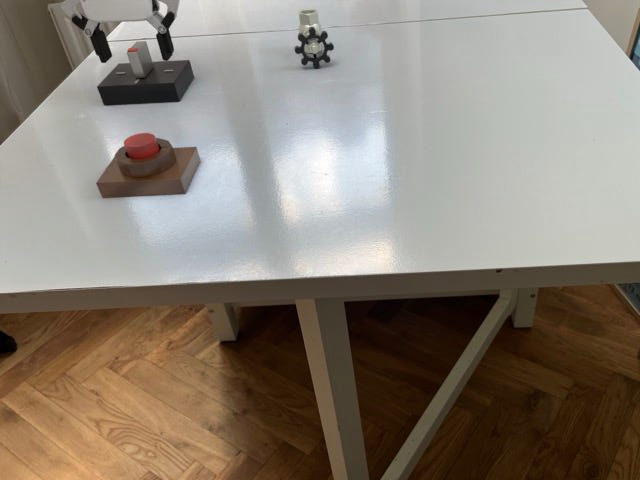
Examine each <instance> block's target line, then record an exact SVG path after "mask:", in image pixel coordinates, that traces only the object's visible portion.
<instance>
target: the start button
mask: <svg viewBox="0 0 640 480" xmlns="http://www.w3.org/2000/svg"><path fill="white" fill-rule="evenodd" d="M156 138H157V137H156V136H155V134H153V133H150V132H141V133H135V134H133V135H130V136H128V137H127V138H126V139H124V141H123V146H125V148H126V151H127V153H128V156H129V158H130V159H144V158H148V157H151V156H153V155H155V154H157V153H158V152H159V146H158V143H157V141H156Z"/></svg>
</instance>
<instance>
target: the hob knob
mask: <svg viewBox="0 0 640 480" xmlns="http://www.w3.org/2000/svg"><path fill="white" fill-rule="evenodd" d="M126 56H127V58H128V62H129V63H130V64H131V67H132V70H133V73H134V76H135V78H145V77H146V76H147V75H148V74H149V72H150V71H151V70H152V68H153V67H154V65H153V62H152V61H153V58H152V55H151V52H150V49H149V46H148V42H147V41H146V40H142V41H135V43H134V44H132V46H131V47H129V48H128V49H127V50H126Z"/></svg>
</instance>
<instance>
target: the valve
mask: <svg viewBox="0 0 640 480" xmlns="http://www.w3.org/2000/svg"><path fill="white" fill-rule="evenodd" d="M298 17H299V25H298V34H297V41H299V42H300V46H299V45H295V46H294V52H295V54H296V55H300V54H302V57H301V58H300V63H301V65H302V66H307V65H308V63H309V62H310V63H312V66H313V68H314V69H315V70H318V69H319V68H320V67H321V65H320V62H321V61H323V62H324V63H326V64H329V63H330V62H331V56H330V55H328V52H329V51H330V52H332V51H334V49H335V46H334V45H335V44H334V43H333V42H331V41H330V42H329V43H327V41H326V39H328V37H329V33H328V31H326V30H323V29H322V25H321V23H320V21H319V20H320V19H319V12H318V10H317V9H315V8H305V9H301V10H299V11H298ZM322 44H323V48H322ZM322 50H323V52H322V53H321V55H319V56H318V55H317V53H319V52H321V51H322ZM309 54H312V56H313V57H311V56H309Z"/></svg>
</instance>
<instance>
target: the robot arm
mask: <svg viewBox="0 0 640 480" xmlns="http://www.w3.org/2000/svg"><path fill="white" fill-rule="evenodd" d="M160 3H163V4H165V5H166V7H167V10H166V14H165V16H164V15H163V14H162V13H161V12H160V9H161V4H160ZM78 4H81V7H82V10H83V12H84V14H85V15H83V14H82V13H80V12H79V10H78V9H77V6H78ZM59 6H60V7H59V8H61V10H62V11H63V12H64V14H65V15H66V16H67V17H68V18H69V19H70V20H71V22H72V24H73V25H75V26H76V27H78V28H79V29H81V31H83V33H84V34H85V36H87V37H89V39H90V41H91V44H92V47H93V50H94V53H95V55H96V56H98V58H99V61H100V63H101V64H106V63H107V62H108V61H109V60H111V59H112V57H113V53H112V50H111V48H110V44H109V42H108V38H107V35H106V33H105V31H104V30H103V29H101V25H102V23H128V22H129V23H131V22H147V23H148V24H150V25H151V27H153V28H154V29H155V30H157V33H156V34H155V36H156V41H157V45H158V48H159V52H160V55H161V59H162V61H170V59H171V58H172V56H173V54H174V52H175V47H174V42H173V40H172V36H171V33H170V28H171V26H172V25H173V23H174V22H175V20H176V19H177V17H178V11H179V6H180V0H63V1H62V2H61V3H60V4H59Z"/></svg>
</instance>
